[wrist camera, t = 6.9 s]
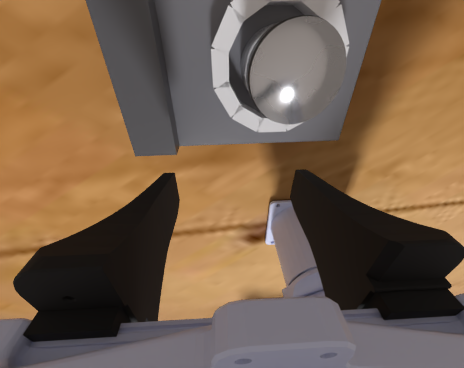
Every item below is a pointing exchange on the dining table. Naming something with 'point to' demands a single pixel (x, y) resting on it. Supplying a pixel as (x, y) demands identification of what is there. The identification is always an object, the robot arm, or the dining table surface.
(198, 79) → the camera body
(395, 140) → the dining table surface
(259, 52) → the lens
